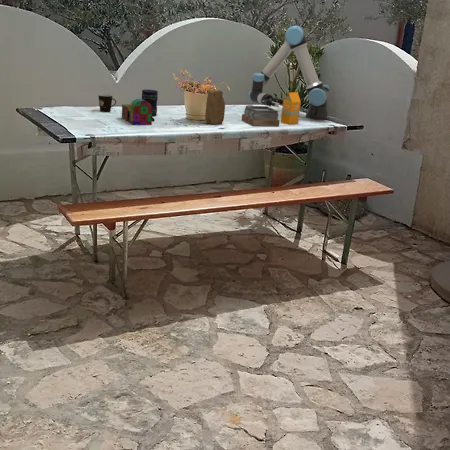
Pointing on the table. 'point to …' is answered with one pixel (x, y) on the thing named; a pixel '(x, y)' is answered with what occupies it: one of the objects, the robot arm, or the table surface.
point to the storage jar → (151, 99)
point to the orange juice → (291, 108)
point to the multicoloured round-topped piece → (138, 112)
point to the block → (215, 107)
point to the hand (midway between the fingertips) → (286, 105)
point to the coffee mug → (105, 102)
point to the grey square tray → (261, 116)
